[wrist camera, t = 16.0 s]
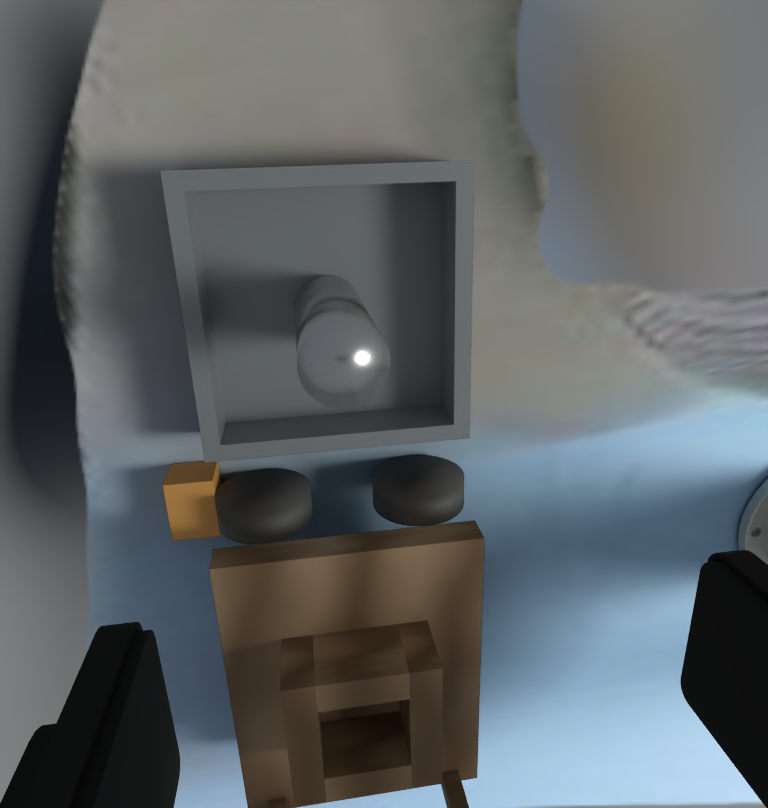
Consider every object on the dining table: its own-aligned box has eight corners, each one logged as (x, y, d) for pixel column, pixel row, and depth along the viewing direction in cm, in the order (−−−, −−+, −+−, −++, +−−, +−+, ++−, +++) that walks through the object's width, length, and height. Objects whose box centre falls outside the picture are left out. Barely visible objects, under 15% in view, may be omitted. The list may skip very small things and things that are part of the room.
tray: (453, 161, 36) (474, 160, 32) (451, 411, 42) (469, 438, 38) (175, 171, 34) (160, 170, 30) (213, 432, 40) (204, 462, 36)
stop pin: (359, 272, 37) (389, 316, 25) (361, 337, 38) (391, 404, 27) (292, 276, 36) (293, 322, 25) (297, 341, 37) (300, 412, 26)
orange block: (217, 459, 40) (212, 480, 38) (225, 512, 42) (220, 535, 39) (171, 464, 40) (162, 485, 37) (180, 516, 42) (172, 540, 39)
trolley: (451, 451, 43) (562, 640, 25) (449, 707, 51) (531, 980, 34) (219, 473, 41) (167, 694, 23) (257, 736, 49) (240, 1041, 32)
